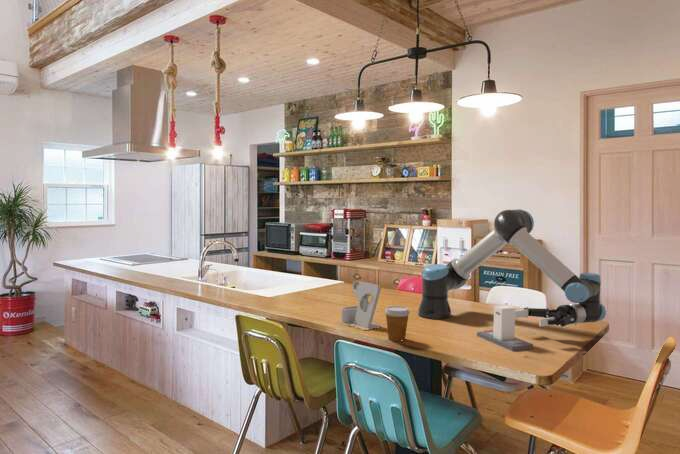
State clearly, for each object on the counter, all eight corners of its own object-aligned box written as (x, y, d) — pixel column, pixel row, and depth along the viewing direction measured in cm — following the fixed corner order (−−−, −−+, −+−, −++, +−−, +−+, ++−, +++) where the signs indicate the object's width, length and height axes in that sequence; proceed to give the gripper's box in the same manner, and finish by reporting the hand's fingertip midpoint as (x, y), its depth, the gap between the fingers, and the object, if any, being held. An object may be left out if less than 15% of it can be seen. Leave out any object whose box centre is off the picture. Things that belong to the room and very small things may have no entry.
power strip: (476, 339, 187) (477, 330, 187) (496, 337, 190) (496, 328, 190) (512, 355, 168) (512, 344, 168) (532, 352, 172) (533, 342, 171)
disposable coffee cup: (406, 335, 191) (407, 305, 191) (411, 342, 182) (411, 311, 181) (382, 335, 191) (383, 305, 190) (385, 342, 181) (386, 311, 181)
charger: (492, 340, 180) (493, 306, 180) (506, 339, 182) (507, 305, 182) (500, 344, 176) (501, 308, 175) (514, 342, 178) (515, 307, 178)
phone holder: (338, 322, 211) (339, 281, 210) (356, 319, 218) (356, 279, 217) (364, 331, 198) (365, 287, 197) (382, 327, 204) (383, 285, 203)
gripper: (596, 331, 178) (551, 336, 171) (545, 316, 202) (504, 320, 194) (597, 311, 178) (552, 315, 170) (546, 298, 201) (504, 301, 194)
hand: (526, 318), depth 182 cm, fingers open, 13 cm apart
